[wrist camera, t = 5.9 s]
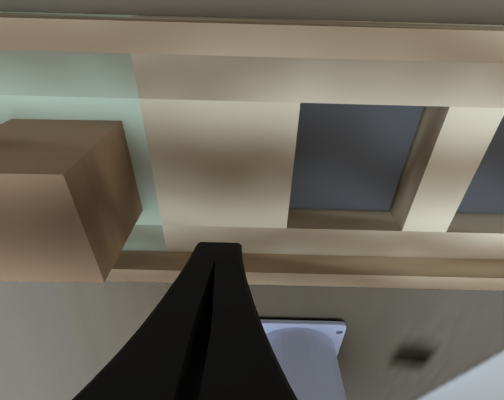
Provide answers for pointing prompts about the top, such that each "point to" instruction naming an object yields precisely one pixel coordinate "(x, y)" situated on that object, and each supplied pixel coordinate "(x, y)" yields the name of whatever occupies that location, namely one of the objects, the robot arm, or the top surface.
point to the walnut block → (64, 199)
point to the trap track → (287, 140)
